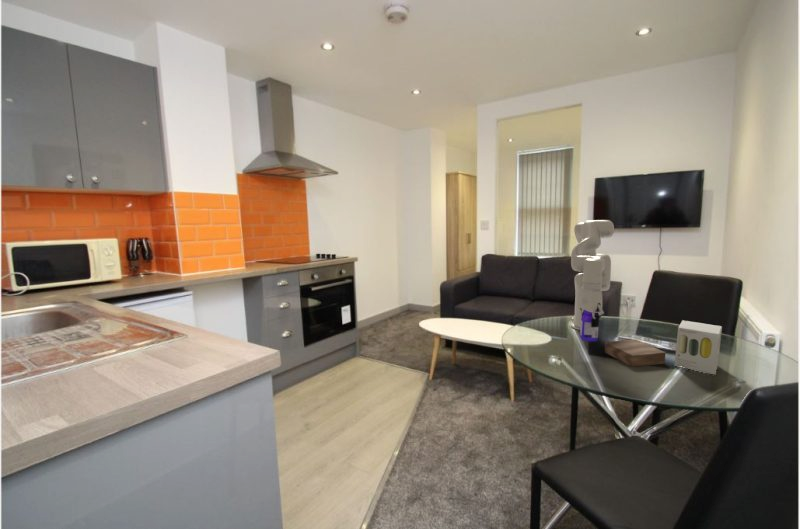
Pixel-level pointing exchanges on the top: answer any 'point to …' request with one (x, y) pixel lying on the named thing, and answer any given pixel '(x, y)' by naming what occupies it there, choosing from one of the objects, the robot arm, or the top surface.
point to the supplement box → (698, 346)
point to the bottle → (588, 327)
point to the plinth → (635, 353)
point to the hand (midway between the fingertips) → (589, 324)
